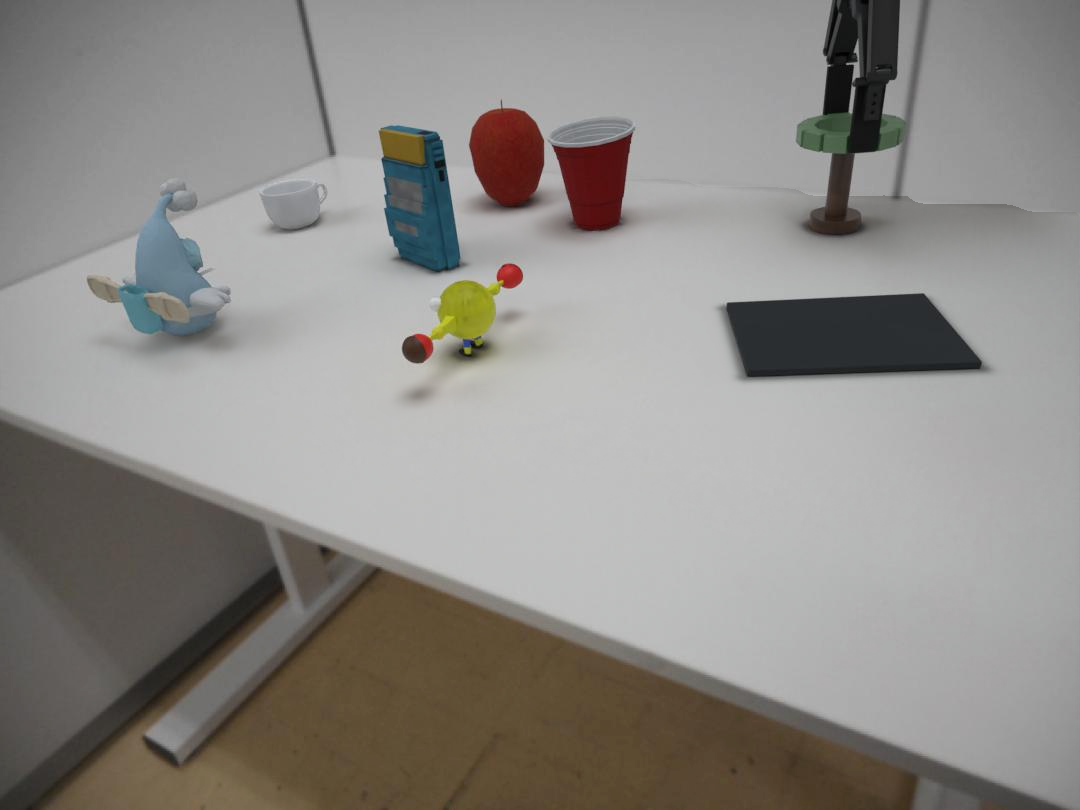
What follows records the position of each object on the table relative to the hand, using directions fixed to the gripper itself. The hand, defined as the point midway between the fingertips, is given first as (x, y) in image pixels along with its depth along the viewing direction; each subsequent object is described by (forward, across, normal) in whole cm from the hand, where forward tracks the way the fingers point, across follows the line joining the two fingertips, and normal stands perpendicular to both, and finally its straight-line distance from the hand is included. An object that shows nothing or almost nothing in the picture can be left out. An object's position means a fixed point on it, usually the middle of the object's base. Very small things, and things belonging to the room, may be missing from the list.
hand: (847, 138), depth 82 cm
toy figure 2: (+10, +27, -39) cm, 49 cm away
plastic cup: (+10, -6, -28) cm, 31 cm away
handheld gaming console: (+10, +4, -48) cm, 49 cm away
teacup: (+9, -14, -70) cm, 72 cm away
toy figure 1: (+10, +20, -70) cm, 74 cm away
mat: (+10, +27, -6) cm, 29 cm away
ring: (0, 0, 0) cm, 0 cm away
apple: (+10, -17, -40) cm, 45 cm away
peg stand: (+10, 0, 0) cm, 10 cm away
